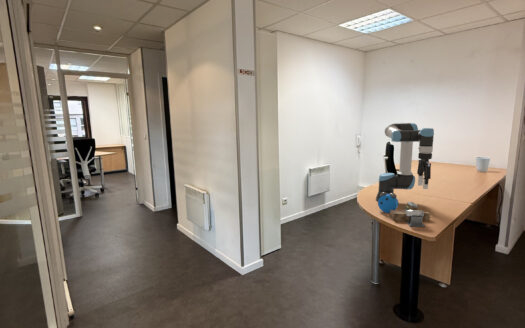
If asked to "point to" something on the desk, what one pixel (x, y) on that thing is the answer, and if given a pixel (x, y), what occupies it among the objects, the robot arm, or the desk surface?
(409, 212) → the axle
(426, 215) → the beam
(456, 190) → the desk surface
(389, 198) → the alarm clock
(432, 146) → the robot arm
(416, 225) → the grey slotted plate stand
